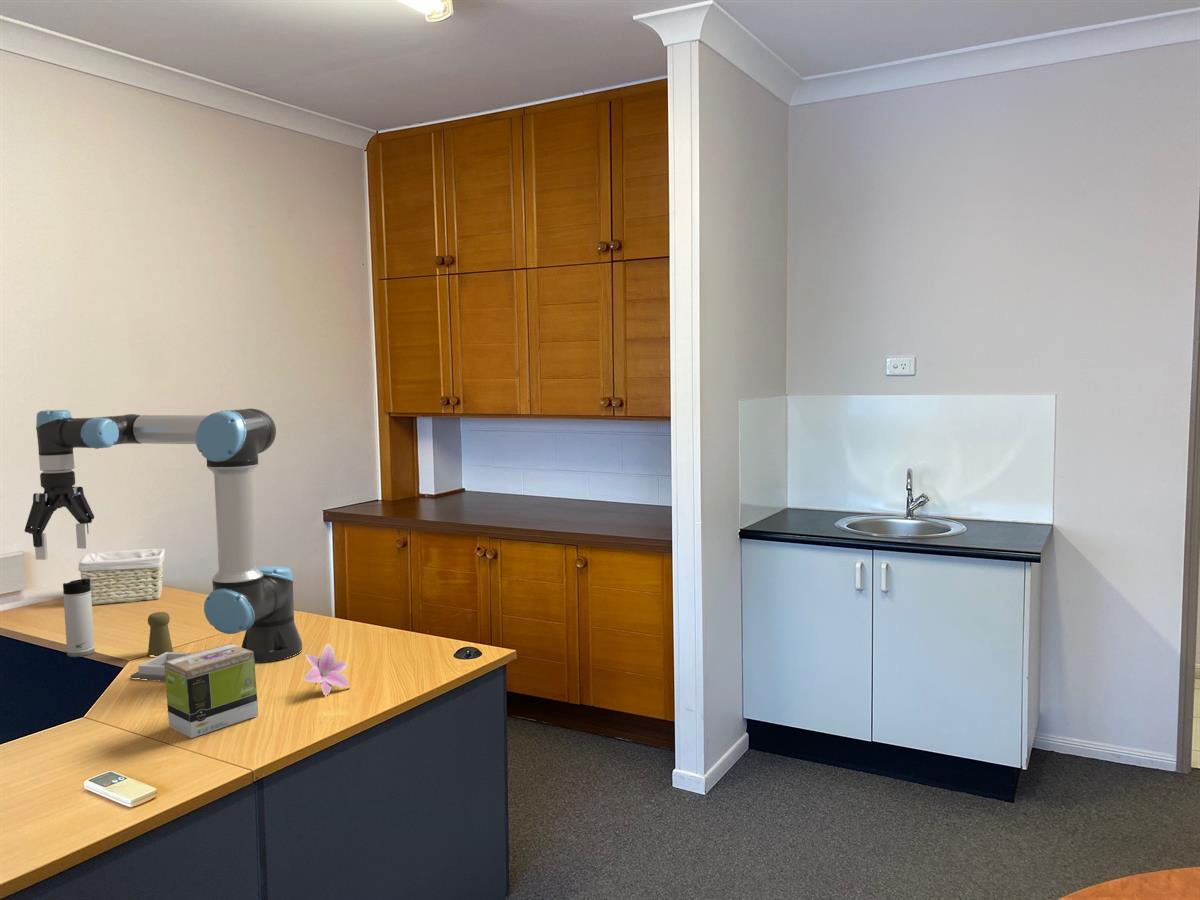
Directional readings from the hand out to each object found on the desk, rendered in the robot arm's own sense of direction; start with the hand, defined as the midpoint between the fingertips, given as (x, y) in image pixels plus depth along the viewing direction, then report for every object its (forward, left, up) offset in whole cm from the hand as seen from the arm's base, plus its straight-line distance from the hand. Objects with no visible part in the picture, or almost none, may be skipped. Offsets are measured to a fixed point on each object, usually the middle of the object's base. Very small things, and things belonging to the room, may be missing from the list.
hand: (63, 553), depth 227 cm
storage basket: (+29, -58, -28) cm, 70 cm away
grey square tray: (-32, +4, -28) cm, 43 cm away
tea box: (-61, +31, -28) cm, 74 cm away
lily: (-76, +10, -28) cm, 82 cm away
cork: (-20, -8, -28) cm, 35 cm away
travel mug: (+1, -5, -28) cm, 29 cm away
